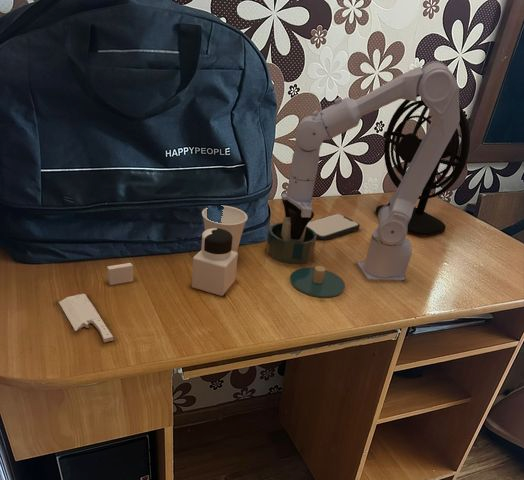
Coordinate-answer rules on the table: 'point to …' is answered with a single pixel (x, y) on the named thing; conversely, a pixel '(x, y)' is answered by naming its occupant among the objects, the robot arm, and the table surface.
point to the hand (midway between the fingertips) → (292, 233)
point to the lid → (317, 282)
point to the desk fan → (407, 149)
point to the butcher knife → (84, 315)
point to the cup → (228, 223)
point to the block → (289, 231)
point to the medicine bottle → (215, 262)
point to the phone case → (332, 226)
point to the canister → (290, 246)
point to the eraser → (120, 273)
